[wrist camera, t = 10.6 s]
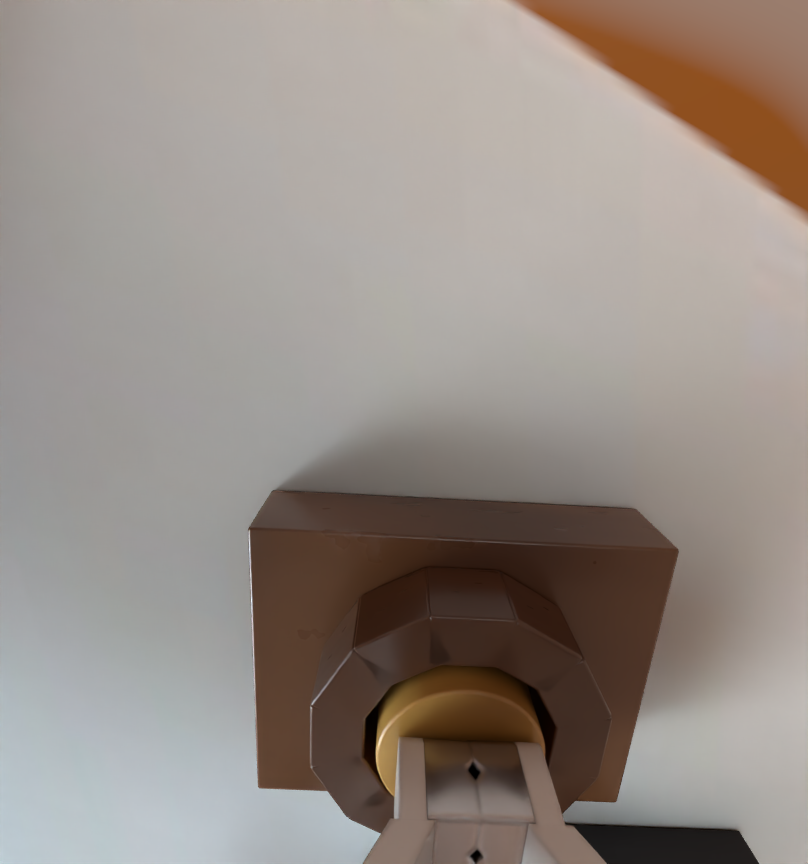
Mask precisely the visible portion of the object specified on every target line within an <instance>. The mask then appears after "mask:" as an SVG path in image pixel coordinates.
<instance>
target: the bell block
mask: <svg viewBox="0 0 808 864" xmlns="http://www.w3.org/2000/svg"><path fill="white" fill-rule="evenodd" d="M248 539H249V565H250V591H251V617H252V643H253V669H254V696H255V722H256V748H257V774H258V788H263V789H289V790H314V791H328V792H329V794H330V795H331V796H332V798H333V799H334V800H335V802H336V803H337V804H338V806H339V807H340V809H341V810H342V811H343V813H344V814H345V815H346V817H349V819H351V820H353V821H355V822H357V823H359V824H361V825H364V826H366V827H368V828H370V829H372V830H374V831H376V832H379V833H382V832H383V830H384V828H385V827H386V825H387V823H388V822H389V820H390V819H394V798H395V797H394V796H393V795H391V793H390V792H389V791H388V790H387V788H386V787H385V785H384V784H383V782H382V780H381V778H380V775H379V772H378V770H377V765H376V737H377V719H378V702H379V701H380V700H381V699H382V697H383V696H384V695H385V694H386V692H387V691H388V690H389V689H390V687H391V686H392V685H393V684H396V683H398V682H401V681H403V680H406V679H408V678H410V677H413V676H415V675H418V674H420V673H423V672H425V671H428V670H430V669H432V668H435V667H437V666H440V665H452V666H475V667H496V668H498V669H500V670H502V671H504V672H505V673H507V674H509V675H511V676H513V677H514V678H516V679H518V680H520V681H522V682H523V683H525V684H527V686H528V689H529V692H530V696H531V699H532V702H533V705H534V708H535V712H536V715H537V718H538V721H539V724H540V727H541V731H542V734H543V738H544V742H545V760H546V763H547V767H548V770H549V773H550V776H551V780H552V783H553V786H554V789H555V793H556V796H557V799H558V803H559V806H560V809H561V812H562V813H563V812H564V811H565V810H566V809H567V808H568V807H570V806H571V805H572V804H573V803H574V802H575V801H592V802H616V801H617V797H618V793H619V789H620V785H621V781H622V777H623V773H624V769H625V765H626V761H627V757H628V753H629V749H630V745H631V741H632V737H633V733H634V729H635V725H636V721H637V717H638V713H639V709H640V705H641V701H642V697H643V693H644V689H645V685H646V681H647V677H648V673H649V669H650V665H651V661H652V657H653V653H654V649H655V645H656V641H657V637H658V633H659V629H660V625H661V621H662V617H663V613H664V609H665V605H666V601H667V597H668V593H669V589H670V585H671V581H672V577H673V573H674V569H675V565H676V561H677V557H678V553H679V551H678V549H677V548H676V547H675V546H674V545H673V544H672V543H671V542H670V541H669V540H668V539H667V538H666V537H665V536H664V535H663V534H662V533H661V532H660V531H659V530H658V529H656V528H655V527H654V526H653V525H652V524H651V523H650V522H649V521H648V520H647V519H646V518H645V517H644V516H643V515H642V514H641V513H640V512H639V511H638V510H636V509H624V508H605V507H585V506H566V505H547V504H527V503H508V502H489V501H470V500H450V499H431V498H412V497H392V496H373V495H354V494H335V493H315V492H296V491H277V490H274V491H272V492H271V493H270V495H269V497H268V498H267V500H266V501H265V503H264V504H263V506H262V508H261V509H260V511H259V512H258V514H257V516H256V517H255V519H254V520H253V522H252V523H251V525H250V527H249V528H248Z"/></svg>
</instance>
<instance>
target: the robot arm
mask: <svg viewBox="0 0 808 864" xmlns="http://www.w3.org/2000/svg"><path fill="white" fill-rule="evenodd" d="M363 864H607V863H606V862H605V861H604V860H603V859H602V858H601V856H600V855H599V854H598V853H597V852H596V851H595V850H594V849H593V848H592V846H591V845H590V844H589V843H588V842H587V841H586V840H585V839H584V837H583V836H582V835H581V834H580V833H579V832H578V831H577V830H576V829H575V827H574V826H570V825H565V822H564V819H563V816H562V812H561V809H560V806H559V803H558V799H557V796H556V793H555V789H554V786H553V783H552V780H551V776H550V773H549V770H548V767H547V763H546V760H545V757H544V754H543V750H542V747H541V746H540V745H539V743H528V742H513V741H479V740H467V741H460V740H446V739H432V738H414V737H399V739H398V752H397V765H396V780H395V798H394V819H390V820H389V822H388V823H387V825H386V827H385V828H384V830H383V832H382V833H381V835H380V836H379V838H378V840H377V841H376V843H375V845H374V846H373V848H372V849H371V851H370V853H369V854H368V856H367V858H366V859H365V861H364V862H363Z"/></svg>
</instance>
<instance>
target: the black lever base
mask: <svg viewBox="0 0 808 864" xmlns="http://www.w3.org/2000/svg"><path fill="white" fill-rule="evenodd" d="M565 825H567V824H565ZM570 826H574V827H575V829H576V830H577V831H578V832H579V833H580V834H581V835H582V836H583V837H584V839H585V840H586V841H587V842H588V843H589V844H590V845H591V846H592V848H593V849H594V850H595V851H596V852H597V853H598V854H599V855H600V856H601V858H602V859H603V860H604V861H605V862H606V863H607V864H759V863H758V861H757V859H756V858H755V856H754V854H753V853H752V851H751V850H750V848H749V846H748V845H747V843H746V842H745V840H744V838H743V837H742V835H741V833H740V832H739V831H723V830H697V829H671V828H645V827H619V826H593V825H570Z"/></svg>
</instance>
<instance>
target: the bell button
mask: <svg viewBox="0 0 808 864" xmlns="http://www.w3.org/2000/svg"><path fill="white" fill-rule="evenodd" d="M399 737H414V738H432V739H446V740H460V741H467V740H479V741H513V742H528V743H539V745H540V746H541V747H542V750H543V754H544V757H545V742H544V738H543V734H542V731H541V727H540V724H539V721H538V718H537V715H536V712H535V708H534V705H533V702H532V699H531V696H530V692H529V689H528V686H527V684H525V683H523V682H522V681H520V680H518V679H516V678H514V677H513V676H511V675H509V674H507V673H505V672H504V671H502V670H500V669H498V668H496V667H475V666H452V665H440V666H437V667H435V668H432V669H430V670H428V671H425V672H423V673H420V674H418V675H415V676H413V677H410V678H408V679H406V680H403V681H401V682H398V683H396V684H393V685H392V686H391V687H390V689H389V690H388V691H387V692H386V694H385V695H384V696H383V697H382V699H381V700H380V701H379V702H378V719H377V737H376V765H377V770H378V772H379V775H380V778H381V780H382V782H383V784H384V785H385V787H386V788H387V790H388V791H389V792H390V793H391V795H393V796H394V797H395V780H396V765H397V752H398V739H399Z"/></svg>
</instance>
